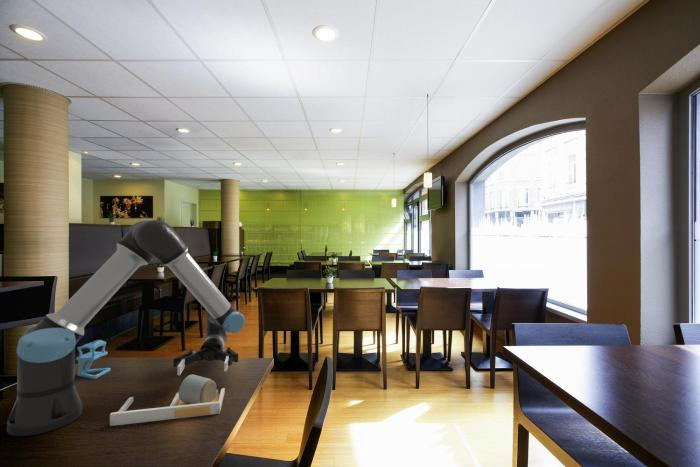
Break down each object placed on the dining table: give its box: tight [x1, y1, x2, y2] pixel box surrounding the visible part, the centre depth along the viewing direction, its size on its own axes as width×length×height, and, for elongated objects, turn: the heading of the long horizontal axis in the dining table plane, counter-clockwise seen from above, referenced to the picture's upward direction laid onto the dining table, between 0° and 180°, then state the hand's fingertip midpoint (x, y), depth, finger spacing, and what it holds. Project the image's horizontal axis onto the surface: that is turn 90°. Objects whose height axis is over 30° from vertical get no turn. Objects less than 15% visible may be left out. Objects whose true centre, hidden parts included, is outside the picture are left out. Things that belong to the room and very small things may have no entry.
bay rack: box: [109, 387, 226, 427], centre depth 100 cm, size 27×14×3 cm, turn 104°
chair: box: [75, 339, 111, 380], centre depth 124 cm, size 8×8×12 cm
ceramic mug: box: [178, 374, 219, 404], centre depth 104 cm, size 11×8×8 cm
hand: (202, 369), depth 108 cm, fingers open, 13 cm apart
